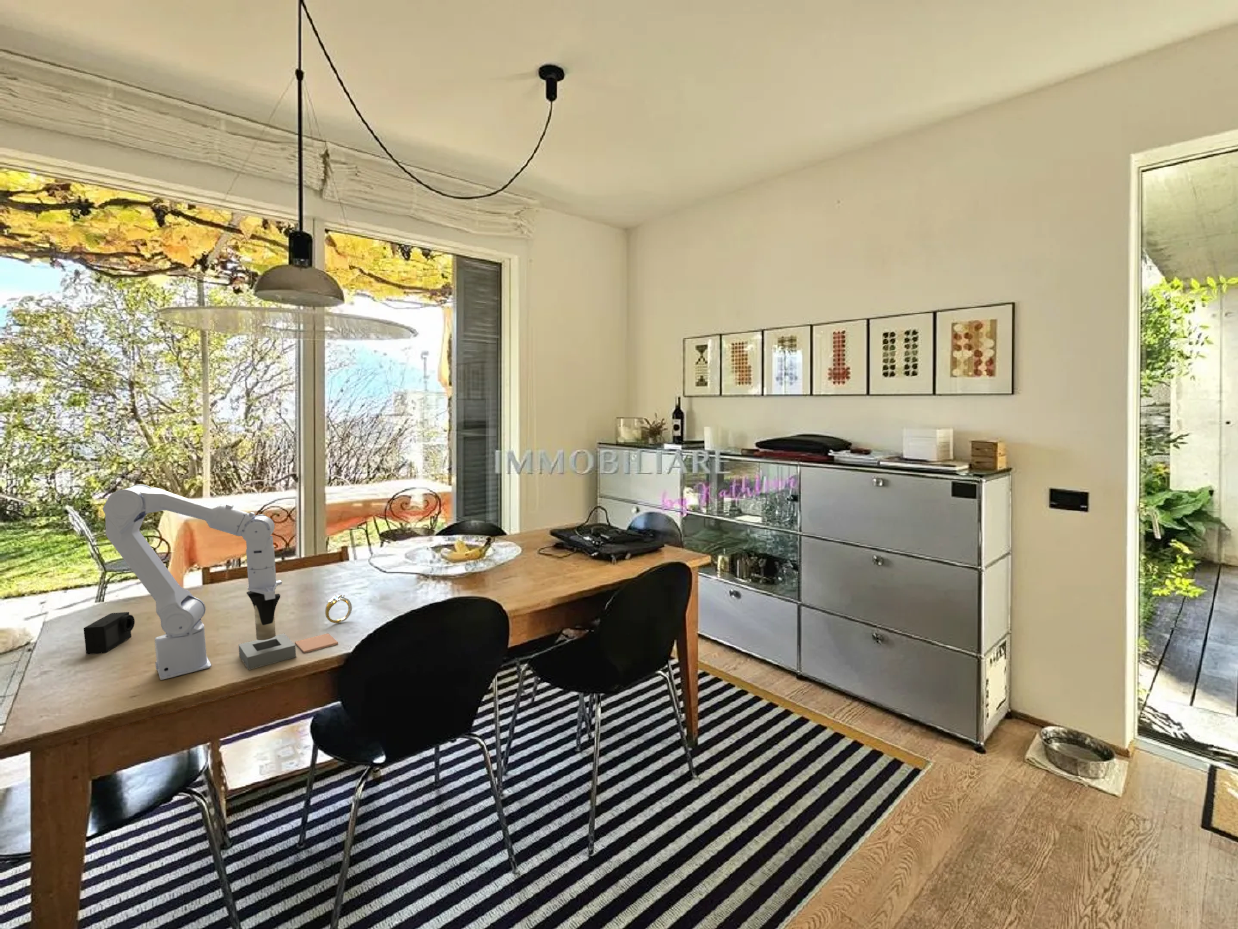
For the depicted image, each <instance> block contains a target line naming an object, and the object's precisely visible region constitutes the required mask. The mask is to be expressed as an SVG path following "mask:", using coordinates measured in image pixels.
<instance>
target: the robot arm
mask: <svg viewBox="0 0 1238 929" xmlns="http://www.w3.org/2000/svg"><path fill="white" fill-rule="evenodd" d="M102 511H103V512H104V514H105V517H104V518H105V535H106V537H107V539H108V540H109V542H110V543H111V545H112V546H113V547H114V548H115V550H116V552H118V554H119V555H120V556H121V557H122V559H123V560H124V561H125V563H126V564H127V565H128V567H129V568H130V569H131V571H132V572H133V574H134V575H135V576H136V577H137V579H138V580H139V581H140V582H141V584H142V586H143V587H144V588H145V590H147V592H148V593H149V595H150V596H151V597H152V599H153V600H154V602H155V613H156V614H157V616H158V617H159V620H160V627H161V629H162V630H163V632H164V634H162V635H159V636H156V637H154V647H155V648H154V651H155V658H156V661H155V664H154V665H155V670H157V674H158V676H159V679H160V680H161V681H162V680H167V679H170V678H175V677H178V676H183V675H186V674H190V673H193V672H198V671H202V670H206V669H209V668H212V664H211V663H212V662H211V661H210V660H209V658H208V654H207V648H206V647H207V644H206V632H205V624H204V623H203V621H202V618H203V617H204V616H205V614H206V610H207V607H206V605H205V603H204V601H203V600H202V599H200V598H198V597H195V596H194V595H193V594H192V593H191V591H190V590H188V589H186V588H184V587H182V586H181V585H180V584H179V583H178V581H177V580H176V579H175V577H174V576H173V574H172V573H171V571H170V570H169V569H168V567H166V565H165V563H164V562H163V561H162V560H161V558H160V557H159V556H158V554H157V553H156V552H155V550H154V548H153V547H152V546H151V545H150V543H149V542H148V541H147V539H146V538H145V536H144V535H143V534H142V532H141V530H140V529H141V526H142V524H143V521H144V519H145V517H146V516H147V515H148V514H151V513H157V512H162V511H167V512H171V513H176V514H179V515H183V516H187V517H191V518H194V519H199V520H203V521H205V522H206V524H207V526H208V527H209V529H213V530H215V531H220V532H222V533H227V534H230V535H232V536H233V535H234V536H237V537H242V539H243V540H244V541H245V543H246V544H245V545H246V548H245V549H246V550H245V552H246V553H245V555H246V568H247V580H248V583H247V584H248V585H247V591H246V594H247V596H248V598H249V599H250V601H251V604H252V606H253V607H254V606H255V605H256V606H257V609H258V612H259V616H260V620H261V623H262V625H266V624H271V623H273V619H274V617H275V611H276V608H277V605H278V603H279V601H280V599H281V594H280V593H276V589H277V587H278V586H280V585H282V584H283V582H282V580H280V579H279V580H277V573H276V572H277V571H276V570H277V569H276V558H275V546H274V536H273V533H274V531H275V528H276V527H275V521H274V520H273V519H272V518H271V517H269V516H266V514H261V513H260V514H257V515H256V513H255V512H253V511H250V512H246V511H243V510H240V509H238V508H234V505H233V504H230V503H227V504H226V505H224V504H218V505H216V506H214V507H213V506H210V505H207V504H204V503H202V502H199V501H195V500H193V499H190V498H188V497H184V496H182V495H180V494H176V493H174V492H170V491H167V490H165V489H162V488H160V487H159V488H158V487H151V486H149V485H147V484H140V483H139V484H134V485H132V486H131V485H130V486H129V487H128V488H124V489H118V490H116V491H114V492H112V493H111V494H110V495H109V496H108V498H107V500H106V501H105V502H104V505H103V506H102Z"/></svg>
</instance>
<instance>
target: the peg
mask: <svg viewBox="0 0 1238 929" xmlns="http://www.w3.org/2000/svg"><path fill="white" fill-rule="evenodd" d="M253 609H254V620H255V622H254V624H255V633H256V634H255V636H256V640H267V639H271V638H273V637H275V636H276V635H277V634H276V619H275V618H276V617H275V616H274V619H273V623H271V624H266V625H262V623H261V620H260V616H259V612H258V609H257V606H256V605H255V606H253Z"/></svg>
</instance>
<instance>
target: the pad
mask: <svg viewBox="0 0 1238 929" xmlns="http://www.w3.org/2000/svg"><path fill="white" fill-rule="evenodd" d="M294 644H295V646H296V647H298V649H299V650H300V651H301V652H302V653H303V654H306V653H307V654H308V653H310V652H314V651H318V650H323V649H325V648H328V647H333V646H336V645H339V642H338V641H337V639H335V638H334V636H332V635H331V634H330V633H328V632H327V633H323V634H319V635H316V636H312V637H308V638H304V639H301V640H296V641H295V642H294Z"/></svg>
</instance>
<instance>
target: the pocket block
mask: <svg viewBox="0 0 1238 929" xmlns="http://www.w3.org/2000/svg"><path fill="white" fill-rule="evenodd" d="M296 648H297V647H296V644H295V642H293V641H292V640H291V639H290V637H289V636H288V635H287V634H286V633H284V632H283V633H280V634H276V636H275V637H273V638H271V639H267V640H257V639H255V640H251V641H248V642H247V641H246V642H243V643H239V644H238V654H239V658H240V659H241V662H243V664H244V665H245V668H247V670H248V671H249V670H253V669H256V668H261V667H264V666H267V665H272V664H275V663H276V664H277V663H279V662H282V661H285V660H286V661H287V660H289V659H293V658H297V652H296Z"/></svg>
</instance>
